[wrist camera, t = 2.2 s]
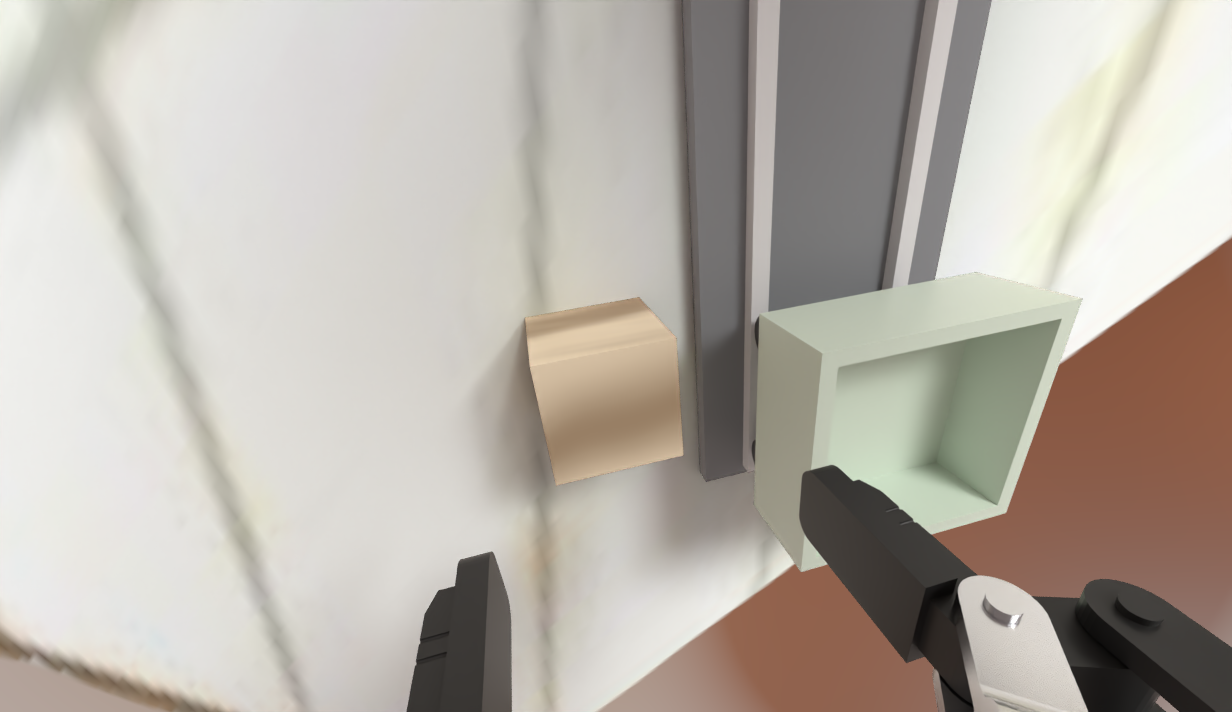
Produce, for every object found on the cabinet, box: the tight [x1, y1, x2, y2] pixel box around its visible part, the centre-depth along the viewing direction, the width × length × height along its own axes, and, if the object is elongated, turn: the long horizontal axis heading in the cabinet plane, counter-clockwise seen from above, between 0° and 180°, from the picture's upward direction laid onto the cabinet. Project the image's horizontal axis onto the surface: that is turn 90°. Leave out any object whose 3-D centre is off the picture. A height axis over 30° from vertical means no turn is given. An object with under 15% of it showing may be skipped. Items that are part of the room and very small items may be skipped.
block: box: [525, 297, 683, 486], centre depth 18 cm, size 5×5×5 cm
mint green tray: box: [752, 272, 1082, 572], centre depth 19 cm, size 10×10×6 cm
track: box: [682, 0, 992, 482], centre depth 20 cm, size 22×12×1 cm, turn 7°
